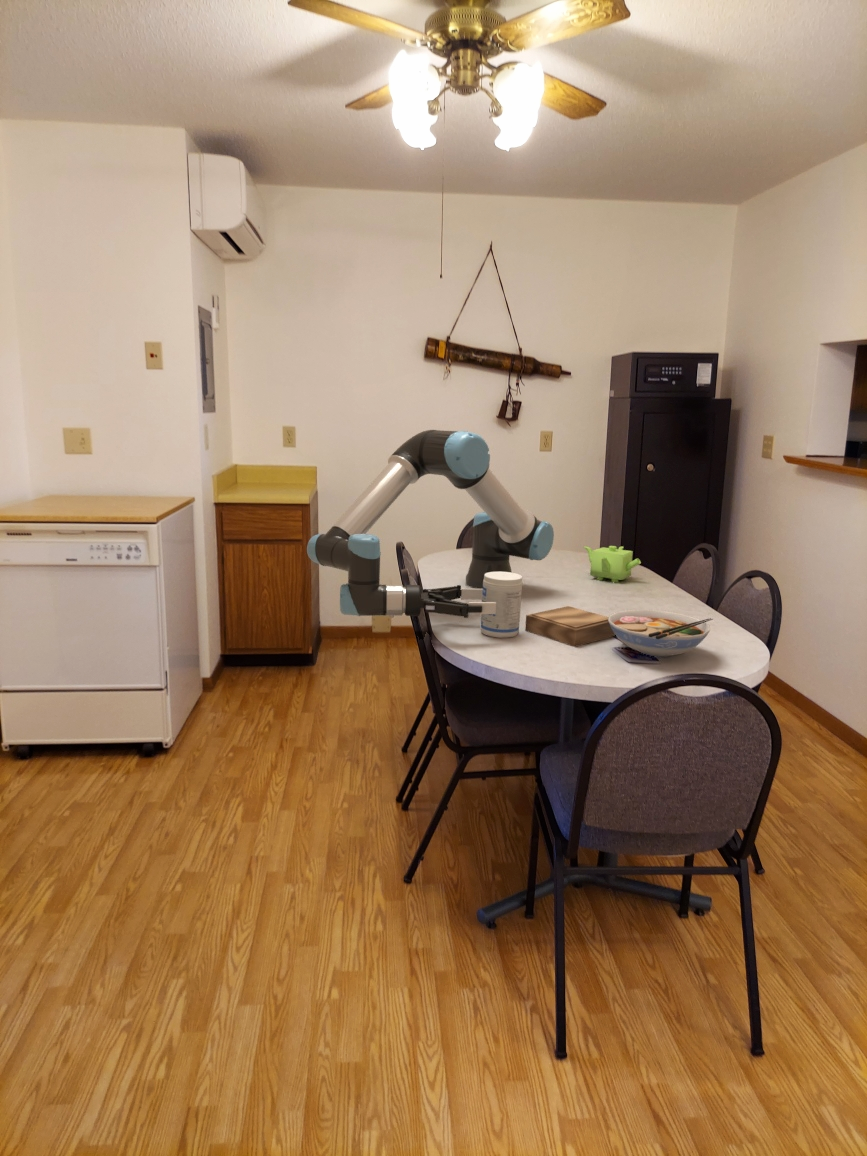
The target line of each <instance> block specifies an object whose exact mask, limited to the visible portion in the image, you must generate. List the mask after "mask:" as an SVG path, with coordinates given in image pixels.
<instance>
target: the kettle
mask: <svg viewBox="0 0 867 1156" xmlns="http://www.w3.org/2000/svg"><path fill="white" fill-rule="evenodd" d="M582 547H583V548H584V549H585V550H586V551H587V553H588V560H589V563H590V569H589V570H590V573H589V576H593V577H596V579H595V580H596V581H603V580H604V578H606V579H611V583H613V582H614V583H613V584H618V582H619V580H620V581H625V580H624V579H626V578H629V577H630V576H631V575H632V569H633V568H635V567H637V566H639V565H640V564H641V563H642V562H641V560H640V559H639V558H635V559H634V560H633V554H634V553H633V552H634V551H633V550H626V549H624V545H623V546H619V547H617V546H616V545H609V546H608V547H600V548H597V549H593V550H592V548H591V547H590V546H582Z"/></svg>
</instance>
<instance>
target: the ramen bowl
mask: <svg viewBox="0 0 867 1156" xmlns="http://www.w3.org/2000/svg"><path fill="white" fill-rule="evenodd" d="M608 617H609V619H608V621H609V624H610V626H611V628H612V630H613V632H614V633H615V635H616V638H617V639H618V640H619V641H621V642H622V643H623V644H624V645H626V646H627V647H628V648H630V649H632V650H634V651H637V652H639V653H640V652H641V653H640V654H642V653H643V654H642V655H644V654H646V655H645V656H647V655H650V656H649V657H651V656H654V657H653V658H660V657H661V658H669V657H672V656H675V655H680V654H681V655H682V654H685V653H687V652H690V651H691V650H692V649H695V648H696V647H697V646H698V645H699V644H700V643H702V642H703V641H704V640H705V638H706V637H707V636H708V634H709V633H710V631H711V627H710V624H708V623H707V622H710V621H712V620H714V618H711V617H710V618H706V619H700V618H697V617H693V616H690V615H687V614H682V613H678V612H677V613H675V612H672V611H664V610H653V609H627V610H621V611H620V610H619V611H616V612H614V613H612V614H609V615H608Z"/></svg>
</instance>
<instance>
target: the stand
mask: <svg viewBox="0 0 867 1156" xmlns="http://www.w3.org/2000/svg"><path fill="white" fill-rule="evenodd" d="M608 619H609V616H606V615H602V614H600V613H599V614H598V613H595V612H591V611H588V610H584V609H579V608H576V607H574V606H569V605H567V606H563V607H558V608H554V609H548V610H544V611H540V612H539V611H538V612H535V613H530V614H526V615H525V626H524V628H525V629H524V631H526V632H528V631H529V633H532V634H535V635H538V636H542V637H544V638H547V639H550V640H553V641H556V642H559V643H562V644H566V645H569V646H572V647H578V646H582V645H583V646H584V645H585V644H589V643H594V642H597V641H601V640H604V639H608V637H609V638H612V637H615V633H614V632H613V630H612V628H611V626H610V624H609V621H608Z"/></svg>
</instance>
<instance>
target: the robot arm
mask: <svg viewBox="0 0 867 1156" xmlns="http://www.w3.org/2000/svg"><path fill="white" fill-rule="evenodd" d="M489 452H490V448H489V446H488V443H487V442H486V440H485V439H484V438H483V437H482V436H481V435H479V434H477V433H475V432H470V431H468V430H467V431H465V430H439V429H438V430H437V429H427V430H423V431H420V432H419V433H416V434H414V436H411V437H410V438H409V439H407V440H406V441H405V442H403V443H402V444H401V445H400V446H398V448H397V449H396V450H395V451H394V452H393V453H392V454H391V455H390V456H389V458H388V459H387V466H385V467H384V468H383V470H382V471H381V472H380V473H379V474H378V475H377V476H376V477H375V478H374V480H373V481H372V482H371V483H370V484H369V485H368V486H367V487H366V488H365V490H364V491H363V492H362V493H361V494H360V495H359V496H358V498H357V499H356V500H355V501H354V502H353V503H352V504H351V505H350V506H349V507H348V509H347V510H346V511H345V512H344V513H343V514H342V515H341V516H340V517H339V519H338V520H336V522H335V523H334V524H333V526H331V528H330V529H328V530H327V532H326V533H318V534H315V535H312V537H310V539H309V541H308V542H307V546H306V553H307V557H308V558H309V559H310V560H311V561H312V562H313V563H315V564H317V565H320V566H322V567H329V568H332V569H334V568H335V569H337V570H341V571H345V572H347V583H343V584H341V585H340V588H339V612H340V613H341V614H342V615H344V616H357V617H362V616H363V617H367V616H369V617H370V616H373V617H375V616H376V617H377V616H382V617H383V616H389V617H390V618H391V619H392V618H394V617H395V616H397V617H398V616H399V617H400V616H403V614H404V615H405V616H406V617H419V616H421V611H422V610H421V609H425V613H428V614H430V613H431V614H441V615H449V616H454V617H455V616H456V617H463V618H464V619H467V618H468V617H469V615H481V614H496V602H482V591H483V580H484V575H485V574H486V573H488V572H511V573H513V572H512V568H511V567H512V566H511V563H510V557H511V556H512V557H517V558H522V559H527V560H530V561H541V560H543V559H545V558H546V557H548V555H549V553H550V552H551V549H552V547H553V544H554V539H555V538H554V537H555V534H554V533H555V532H554V527H553V524H552V523H550V522H548V521H545V520H542V521H541V520H539V519H537V517H536V516H535V514H533V512H532V511H530V509H527V508H522V507H521V506H520V505H519V503H518V502H517V500H515V499H514V497H513V496H512V494H511V493H510V492H509V490H507V488H506V487H505V486H504V485H503V483H502V482H501V481H500V480H499V478H498V477H497V476H496V475H495V474H494V473H493V471H492V470H491V469H490V464H491V463H490V461H491V455H490V453H489ZM426 475H436V476H437V475H438V476H444V477H445V478H447V480H448V481H449V482H450V483H451V484H452V485H453V487H455V488H456V489H459V490H465V491H466V493H468V495H469V496H470V497H471V498H472V500H474V502H475V503H476V504H477V505H478V506H479V507H480V508H481V509H482V512H478V513H476V514H475V515H474V518H473V524H472V545H471V546H472V547H471V549H472V550H471V555H472V556H471V561H470V565H469V567H468V571H467V573H466V575H465V580H464V581H465V585H466V586H468V587H471V588H462V585H460V584H457V585H454V586H447V587H438V588H437V587H436V588H422V587H421V585H418V584H406V585H405V586H404V585H403V584H380V579H381V578H380V576H381V574H380V573H381V555H382V554H381V553H382V552H381V543H380V538H379V537H378V536H377V535H375V534H372V533H371V534H370V533H369V534H367V533H368V532H369V531H370V530H371V528H372V527H373V526H374V525H375V524H376V523H377V521H378V520H380V519H381V517H382V515H384V513H386V511H387V510H388V509H389V508H390V507H391V506H392V505H393V503H394V502H395V501H396V500H397V499H398V498H399V496H400V495H401V494H402V493H403V492H404V491H405V490H406V488H407V487H408V486H409V485H411V484H415V483H417V481H418V480H420V478H421V477H424V476H426ZM457 599H458V600H459V599H461V600H465V601H467V600H468V602H461V601H457ZM455 600H456V601H455ZM469 600H471V601H469ZM475 600H476V601H475ZM478 600H479V601H478ZM480 600H481V601H480Z"/></svg>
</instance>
